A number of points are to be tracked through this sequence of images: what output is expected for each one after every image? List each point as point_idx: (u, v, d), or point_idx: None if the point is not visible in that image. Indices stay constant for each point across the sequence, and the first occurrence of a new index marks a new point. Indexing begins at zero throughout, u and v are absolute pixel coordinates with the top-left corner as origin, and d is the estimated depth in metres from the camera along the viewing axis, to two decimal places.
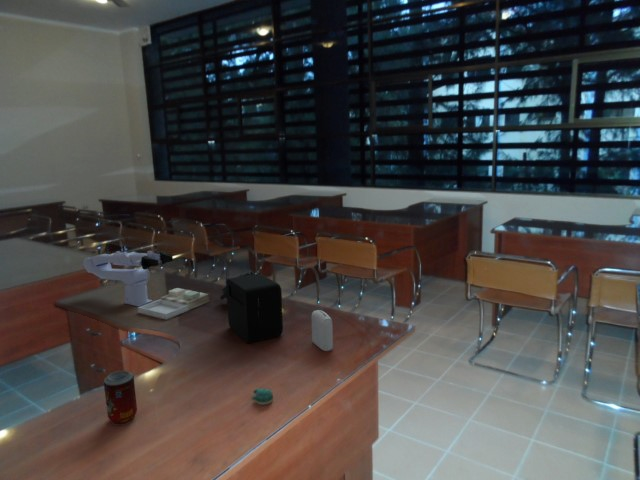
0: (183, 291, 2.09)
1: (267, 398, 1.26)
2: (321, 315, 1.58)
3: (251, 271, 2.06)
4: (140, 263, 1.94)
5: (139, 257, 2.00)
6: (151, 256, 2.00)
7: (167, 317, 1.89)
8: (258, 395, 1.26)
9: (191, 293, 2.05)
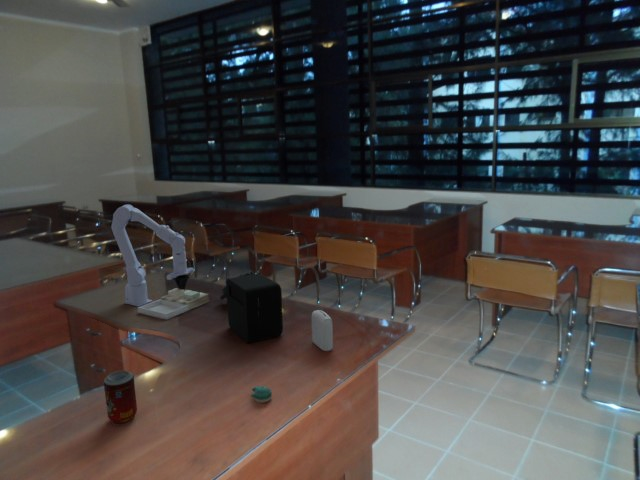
0: (182, 291, 2.09)
1: (266, 396, 1.27)
2: (321, 315, 1.58)
3: (251, 271, 2.06)
4: None
5: (178, 265, 2.07)
6: None
7: (167, 317, 1.89)
8: (257, 393, 1.27)
9: (191, 293, 2.05)
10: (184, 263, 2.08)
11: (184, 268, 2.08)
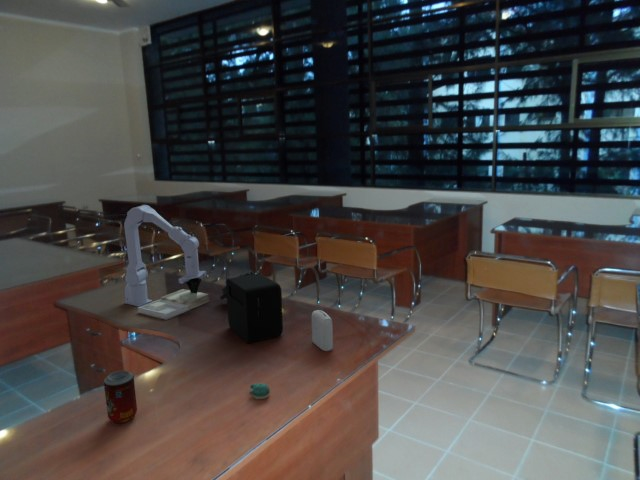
0: (159, 309, 1.98)
1: (264, 393, 1.28)
2: (321, 315, 1.58)
3: (251, 271, 2.06)
4: None
5: (190, 268, 2.01)
6: None
7: (167, 317, 1.89)
8: (255, 390, 1.29)
9: (187, 294, 2.03)
10: (196, 266, 2.02)
11: (196, 271, 2.02)
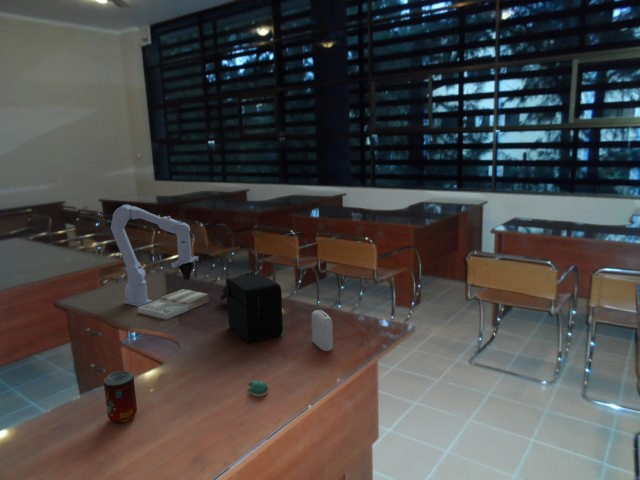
0: (159, 309, 1.98)
1: (262, 390, 1.30)
2: (321, 315, 1.58)
3: (251, 271, 2.06)
4: None
5: (183, 253, 2.06)
6: None
7: (167, 317, 1.89)
8: (253, 387, 1.30)
9: None
10: (189, 251, 2.08)
11: (189, 256, 2.08)
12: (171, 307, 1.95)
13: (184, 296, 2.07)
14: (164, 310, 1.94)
